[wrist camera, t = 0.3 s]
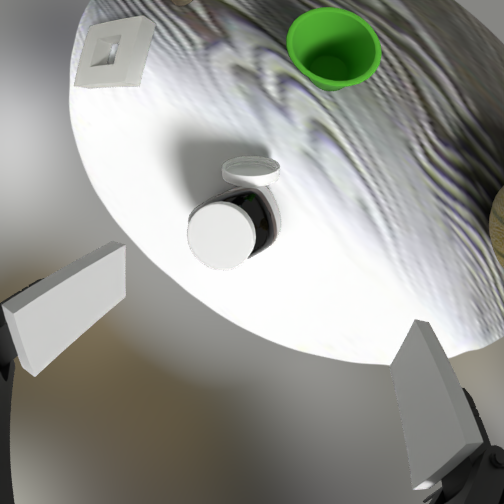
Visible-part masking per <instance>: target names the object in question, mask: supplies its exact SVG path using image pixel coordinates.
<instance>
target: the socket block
mask: <svg viewBox="0 0 504 504" xmlns="http://www.w3.org/2000/svg"><path fill="white" fill-rule="evenodd" d="M155 26H156V24H155V23H154V22H152V21H151V20H149V19H148V18H146V17H145V16H136V17H130V18H124V19H119V20H114V21H109V22H104V23H100V24H96V25H92V26H90V27H89V30H88V33H87V36H86V40H85V43H84V46H83V50H82V53H81V57H80V61H79V65H78V69H77V73H76V78H75V82H74V86H76V87H82V88H88V89H91V88H106V87H140V83H141V79H142V74H143V70H144V66H145V62H146V58H147V54H148V51H149V47H150V43H151V40H152V36H153V33H154V30H155ZM112 44H119V45H118V49H117V52H116V56H115V60H114V64H110V65H107V62H108V58H109V55H110V51H111V47H112Z"/></svg>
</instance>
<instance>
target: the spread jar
mask: <svg viewBox="0 0 504 504" xmlns="http://www.w3.org/2000/svg"><path fill="white" fill-rule="evenodd" d="M279 175H280V165H279V163H278V162H277V161H275V160H273V159H270V158H267V157H261V156H241V157H236V158H232V159H229V160H227V161H226V162H224V163H223V164H222V177H223V179H224V180H225V181H226V182H228V183H230V184H232V185H236V186H241V187H237V188H234V189H231V190H229V191H226V192H224V193H222V194H220V195H217V196H215V197H213V198H211V199H209V200H207V201H206V202H204V203H202V204H201V205H199V206H198V207H196V208H195V209H194V210H193V211H192V212H191V214H190V215H189V218H188V229H187V238H188V244H189V247H190V249H191V251H192V253H193V254H194V256H195V257H196V258H197V259H198V260H199V261H200V262H201V263H202V264H204V265H206V266H207V267H210V268H212V269H216V270H230V269H234V268H236V267H238V266H240V265H241V264H243V263H244V262H245V261H246V259H249V258H251V257H253V256H254V255H256V254H258V253H260V252H262V251H263V250H265V249H266V248H268V247H269V246H270V245H271V244H272V243H273V242H274V241H275V240H276V238H277V237H278V235H279V232H280V230H281V216H280V211H279V208H278V205H277V203H276V200H275V198H274V197H273V195H272V193H271V192H270V190H269V189H268V188H267V187H266V186H265V185H269V184H272V183H274V182H275V181H277V180H278V179H279Z"/></svg>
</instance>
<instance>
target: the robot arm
mask: <svg viewBox="0 0 504 504" xmlns="http://www.w3.org/2000/svg"><path fill="white" fill-rule="evenodd" d="M125 248H126V246H125V244H121V243H118V242H115V241H112V242H110V243H108V244H106V245H104V246H102V247H100V248H98V249H96V250H95V251H93V252H91V253H89V254H87V255H85V256H83V257H81V258H80V259H78V260H76V261H74V262H72V263H71V264H69V265H67V266H65V267H63V268H62V269H60V270H58V271H57V272H55V273H53V274H51V275H50V276H48V277H46V278H43V279H39V280H37V281H35V282H34V283H32V284H30V285H29V287H25V288H24V289H22V291H19V292H17V293H15V294H14V295H12V296H11V297H9V298H7V299H6V300H4V301H3V302H1V303H0V504H15V503H14V498H13V497H14V496H13V488H12V478H11V466H10V465H11V464H10V412H11V398H12V387H13V378H14V371H15V363H14V360H13V359H14V358H15V357H16V356H18V357H19V360H20V362H21V365H22V367H23V368H24V369H25V370H27V371H28V372H29V373H30V374H32V375H33V376H36V375H38V374H39V373H40V372H41V371H42V370H43V369H44V368H45V367H46V366H47V365H48V364H49V363H50V362H52V361H53V360H54V359H55V358H56V357H57V356H58V355H59V354H60V353H61V352H62V351H64V350H65V349H66V348H67V347H68V346H69V345H70V344H71V343H73V342H74V341H75V340H76V339H77V338H78V337H79V336H80V335H81V334H83V333H84V332H85V331H86V330H87V329H88V328H89V327H91V326H92V325H93V324H94V323H95V322H96V321H97V320H99V319H100V318H101V317H102V316H103V315H104V314H106V313H107V312H108V311H109V310H110V309H111V308H113V307H114V306H115V305H116V304H117V303H119V302H120V301H121V300H122V299H123V298H125V297H126V290H125V289H126V287H125ZM389 368H390V372H391V376H392V380H393V384H394V388H395V392H396V397H397V401H398V406H399V411H400V415H401V420H402V425H403V431H404V435H405V442H406V447H407V453H408V460H409V466H410V474H411V482H412V490H416V489H427V488H431V487H432V486H433V485H435V484H436V483H437V482H439V481H440V480H441V481H442V487H441V488H440V489H438V490H437V491H435V492H434V493H433V494H431V495H430V496H428V497H427V498H426V499H425V500H424V501H423V502H424V503H425V502H427V501H428V500H430V499H431V498H432V500H431V502H430V503H429V504H504V450H503V449H502V448H501V447H499V446H496V445H494V446H491V444H490V441H489V438H488V435H487V433H486V430H485V428H484V425H483V423H482V420H481V418H480V417H479V413H478V410H477V409H476V406H475V403H474V401H473V399H472V397H471V396H470V394H469V393H468V392H467V391H466V390H465V388H462V387H461V386H460V383H459V381H458V379H457V376H456V374H455V372H454V370H453V368H452V366H451V364H450V362H449V360H448V358H447V356H446V354H445V352H444V350H443V348H442V346H441V344H440V342H439V340H438V338H437V337H436V335H435V333H434V331H433V329H432V327H431V325H430V324H429V322H425V321H420V320H414V322H413V324H412V326H411V328H410V330H409V332H408V334H407V336H406V338H405V340H404V342H403V344H402V346H401V348H400V349H399V351H398V353H397V355H396V357H395V358H394V360H393V362H392V364H391V365H390V367H389Z"/></svg>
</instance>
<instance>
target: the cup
mask: <svg viewBox="0 0 504 504" xmlns="http://www.w3.org/2000/svg"><path fill="white" fill-rule="evenodd" d="M286 48H287V51H288V54H289V57H290V59H291V60H292V62H293V63H294V65H295V66H296V67H297V68H298V69H299V70H300V71H301V72H302V73H303V74H304V75H306V76H307V77H309V79H310V80H311V81H312V82H313V83H314V84H315V86H317V87H318V88H320V89H322V90H325V91H337V90H340V89H342V88H344V87H346V86H351V85H355V84H359V83H361V82H363V81H365V80H367V79H368V78H369V77H370V76H371V75H372V74H373V73H375V71H376V69H377V68H378V66H379V64H380V59H381V45H380V42H379V39H378V37H377V35H376V33H375V32H374V30H373V29H372V27H371V26H370V25H369V24H368V23H367V22H365V21H364V20H363V19H362V18H360V17H359V16H357V15H356V14H354V13H352V12H349V11H346V10H344V9H339V8H333V7H323V8H317V9H313V10H310V11H308V12H306V13H304V14H302V15H300V16H299V17H298V18H297V19H296V20H295V21H294V22H293V23H292V25H291V26H290V28H289V30H288V33H287V37H286Z"/></svg>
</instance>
